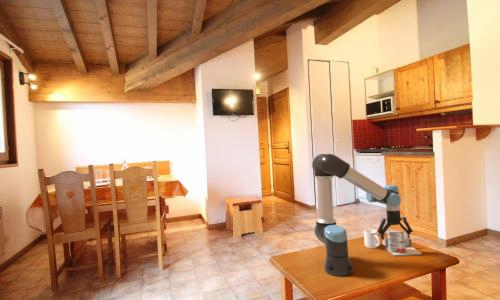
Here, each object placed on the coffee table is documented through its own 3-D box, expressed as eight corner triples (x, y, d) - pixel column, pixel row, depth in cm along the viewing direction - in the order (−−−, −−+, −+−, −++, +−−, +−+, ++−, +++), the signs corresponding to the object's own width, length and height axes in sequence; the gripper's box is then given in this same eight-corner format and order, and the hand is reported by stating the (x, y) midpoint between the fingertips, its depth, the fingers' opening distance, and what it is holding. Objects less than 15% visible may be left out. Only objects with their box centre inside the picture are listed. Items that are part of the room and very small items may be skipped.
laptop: (394, 256, 157) (393, 246, 158) (385, 249, 169) (384, 240, 170) (422, 254, 156) (421, 245, 156) (411, 247, 168) (410, 238, 168)
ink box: (406, 251, 161) (404, 232, 161) (402, 253, 158) (401, 234, 158) (391, 248, 168) (390, 229, 168) (388, 250, 164) (386, 231, 165)
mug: (385, 249, 169) (384, 233, 169) (375, 251, 167) (373, 235, 167) (372, 243, 181) (370, 228, 181) (362, 245, 178) (360, 230, 179)
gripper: (374, 212, 160) (377, 247, 160) (417, 210, 159) (420, 245, 158) (370, 209, 168) (372, 242, 167) (410, 207, 166) (413, 241, 166)
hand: (395, 244), depth 163 cm, fingers open, 13 cm apart
